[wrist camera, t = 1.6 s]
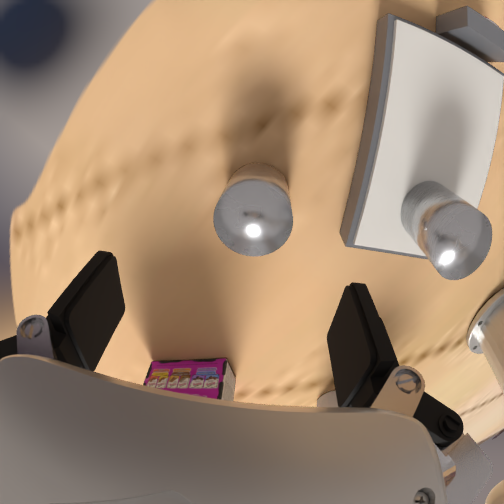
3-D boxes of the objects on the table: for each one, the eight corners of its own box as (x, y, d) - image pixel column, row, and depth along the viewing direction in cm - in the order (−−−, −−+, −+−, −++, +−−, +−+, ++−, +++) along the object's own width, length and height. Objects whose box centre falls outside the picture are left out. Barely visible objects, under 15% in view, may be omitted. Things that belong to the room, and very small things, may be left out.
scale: (489, 43, 13) (521, 41, 9) (444, 251, 24) (467, 278, 20) (379, -12, 13) (401, -32, 9) (339, 232, 24) (352, 262, 20)
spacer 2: (458, 188, 18) (501, 219, 13) (439, 242, 21) (473, 282, 16) (410, 173, 18) (451, 202, 13) (392, 233, 21) (423, 276, 16)
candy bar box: (166, 380, 38) (136, 478, 24) (151, 359, 36) (112, 464, 21) (239, 379, 36) (223, 492, 22) (228, 356, 34) (206, 482, 19)
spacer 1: (293, 167, 22) (299, 189, 17) (283, 224, 24) (285, 260, 19) (230, 159, 22) (215, 178, 17) (225, 216, 24) (211, 250, 19)
